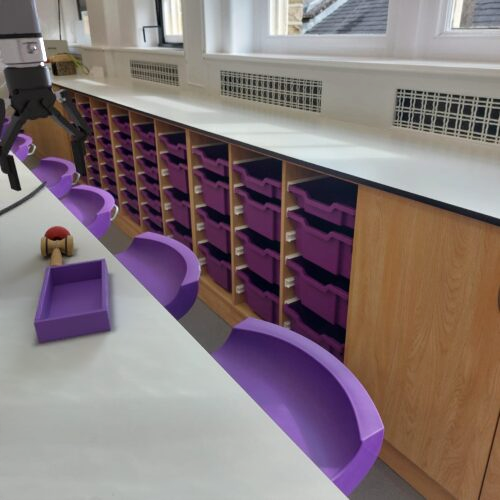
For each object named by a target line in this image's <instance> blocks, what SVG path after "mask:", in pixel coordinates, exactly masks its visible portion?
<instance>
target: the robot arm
mask: <svg viewBox="0 0 500 500" xmlns="http://www.w3.org/2000/svg"><path fill="white" fill-rule="evenodd" d="M40 23H41V22H40V19H39V14H38V7H37V2H36V0H0V63H1V64H2V65H4V66H5V67H4V68H3V70H2V71H3V75H4V80H5V84H6V88H7V91H8V97H7V98H2V97H0V171H1V173H2V174H4V175H7V178H8V182H9V185H10V186H9V187H10V189H11V190H13V191H16V192H20V191H21V192H22V185H21V182H20V177H19V173H18V170H17V166H16V161H15V158H14V155H12V154H10V151H11V150H12V148H13V146H14V145H15V142H16V140H17V138H18V136H19V134H20V132H21V131H22V128H23V126H24V125H26V123H27V122H28V121H36V120H38V119H48V118H50V119H52V121H54V122H55V123H56V124H57V125H58V126H59V127H61V129H63V130H64V131H65V132H66V133H67V134H69V135H70V137H72V138H73V139H72V140H69V141H70V146H71V153H72V155H73V156H72V157H73V162H74V167H75V172H76V173H78V174H81V175H87V174H88V172H87V168H86V163H85V162H86V161H85V157H86V156H87V154H88V153H87V148H86V141H87V140H88V137H89V136H90V137H91V136H92V135H93V131H92V129H91V127H90V126H89V124H88V123H87V121H86V120H85V118H84V117H83V115H82V113H81V112H80V111H79V109H78V108H77V106H76V105H75V103H74V102H73V100H72V95H71V93H70V91H69V90H68V89H63V88H62V89H61V88H59V89H58V90H57V91H54V90H53V81H52V77H51V73H50V69H49V68H50V67H49V66H48V65H45V63H46V62H47V61H48V58H47V53H46V47H45V44H44V38H43V34H42V29H41V24H40ZM56 101H57V102H59V103H60V104H61V106H62V108H63V109H64V111H65V112H66V113H67V115H68V116H69V118H70V119H71V121H72V122H70V121H69V120H68V119H67V118H66V117H65V116H63V114H62V112H61V111H59V110H58V109H57V108H56V107H55V103H56ZM9 106H10V107H11V108H12V109H13V110H14V111H13V113H12V115H11V117H10V121H9V123H8V125H7V126H6V129H5V131H4V133H3V129H4V124H5V119H6V113H7V111H8V110H9ZM2 133H3V134H2ZM47 183H48V181H47V180H44V181H43V182H42V183H41V184H40V185H39V186H37V187H36V188H35V189H34V190H33V191H31V192H30V193H28V194H27V195H26V196H24V197H22V198H21V199H19V200H17V201H15V202H13V203H12V204H10V205H9V206H7V207H4V208H2V209H0V215H2V214H4V213H6V212H7V211H9V210H11V209H14V208H15V207H17V206H19V205H20V204H22V203H23V202H25V201H27V200H28V199H30V198H31V197H33V196H34V195H35V194H37V192H39V191H40V190H41V189H43V187H45V186H46V184H47Z"/></svg>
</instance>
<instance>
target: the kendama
mask: <svg viewBox="0 0 500 500" xmlns="http://www.w3.org/2000/svg"><path fill="white" fill-rule="evenodd" d="M40 254H41V256H42V257H48V256H49V255H50V254H51V255H50V261H49V266H48V267H52V266H58V265H63V256H62V254H65V255H66V256H67V257H71V256H74V236H73V235H72V234H71V233H70V232H69V230H68V229H67V228H66V227H64V226H60V225H54V226H51V227H49V228H48V229H47V230H46V231H45V233H44V236H42V237H41V238H40Z"/></svg>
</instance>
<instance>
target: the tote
mask: <svg viewBox="0 0 500 500" xmlns="http://www.w3.org/2000/svg"><path fill="white" fill-rule="evenodd" d="M110 301H111V300H110V276H109V271H108V264H107V259H106V258H99V259H92V260H85V261H79V262H73V263H65V264H62V265H58V266H52V267H49V266H46V268H45V272H44V277H43V281H42V286H41V290H40V294H39V299H38V303H37V306H36V312H35V316H34V321H33V326H34V329H35V334H36V337H37V341H38V344H44V343H48V342H54V341H59V340H66V339H70V338H71V339H72V338H77V337H82V336H87V335H92V334H98V333H102V332H103V333H104V332H109V331H111V329H112V327H111V325H112V324H111V302H110Z"/></svg>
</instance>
